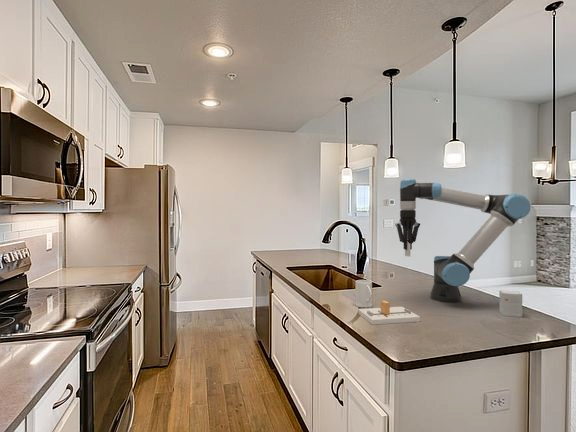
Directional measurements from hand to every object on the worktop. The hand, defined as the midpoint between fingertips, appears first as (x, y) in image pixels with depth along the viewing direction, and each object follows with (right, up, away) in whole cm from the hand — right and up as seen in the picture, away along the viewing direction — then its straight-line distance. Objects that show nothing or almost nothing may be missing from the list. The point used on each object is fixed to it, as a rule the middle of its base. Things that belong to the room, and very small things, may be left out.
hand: (407, 255), depth 179 cm
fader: (-18, -23, -23) cm, 37 cm away
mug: (-23, -25, -4) cm, 34 cm away
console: (-16, -25, -22) cm, 37 cm away
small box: (+41, -25, -19) cm, 51 cm away
